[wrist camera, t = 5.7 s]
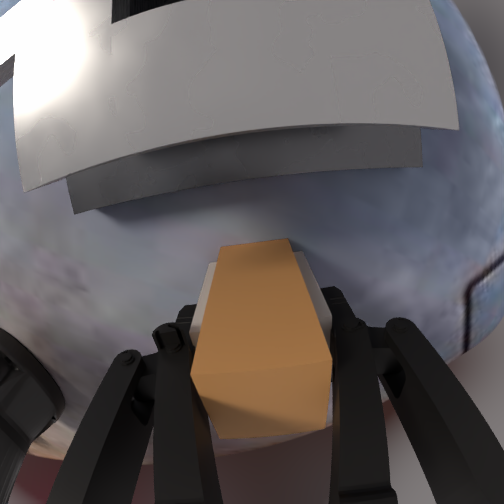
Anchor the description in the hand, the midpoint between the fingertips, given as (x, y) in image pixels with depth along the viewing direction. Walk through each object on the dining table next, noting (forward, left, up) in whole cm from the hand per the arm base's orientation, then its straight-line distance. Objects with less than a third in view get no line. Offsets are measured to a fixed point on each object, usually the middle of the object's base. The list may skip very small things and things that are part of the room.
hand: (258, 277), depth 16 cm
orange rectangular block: (0, 0, -1) cm, 1 cm away
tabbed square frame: (+15, 0, -1) cm, 15 cm away
